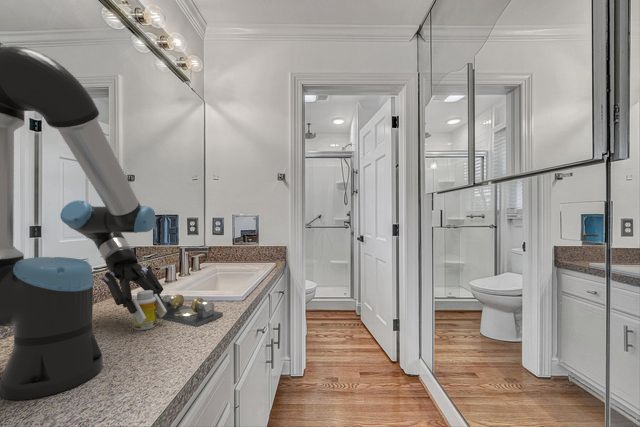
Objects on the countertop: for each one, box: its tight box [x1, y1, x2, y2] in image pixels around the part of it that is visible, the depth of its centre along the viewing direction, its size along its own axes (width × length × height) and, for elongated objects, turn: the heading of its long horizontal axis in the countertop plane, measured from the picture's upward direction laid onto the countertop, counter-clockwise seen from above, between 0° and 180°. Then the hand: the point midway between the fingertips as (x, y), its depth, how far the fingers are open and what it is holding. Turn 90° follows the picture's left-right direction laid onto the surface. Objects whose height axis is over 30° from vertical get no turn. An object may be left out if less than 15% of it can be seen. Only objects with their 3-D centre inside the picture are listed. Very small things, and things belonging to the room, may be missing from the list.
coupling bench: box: [156, 294, 224, 328], centre depth 96 cm, size 10×20×6 cm, turn 64°
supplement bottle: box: [133, 290, 157, 331], centre depth 86 cm, size 6×6×10 cm
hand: (153, 317), depth 85 cm, fingers closed on supplement bottle, 5 cm apart
